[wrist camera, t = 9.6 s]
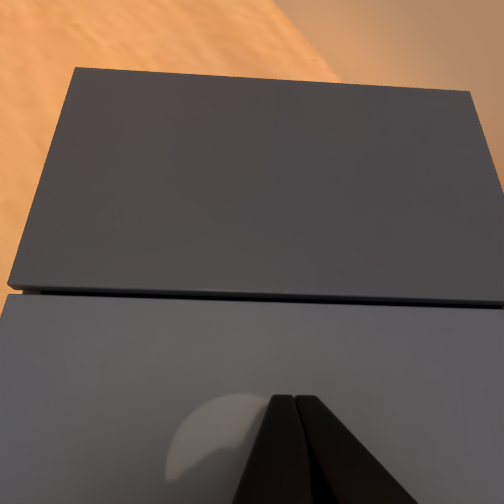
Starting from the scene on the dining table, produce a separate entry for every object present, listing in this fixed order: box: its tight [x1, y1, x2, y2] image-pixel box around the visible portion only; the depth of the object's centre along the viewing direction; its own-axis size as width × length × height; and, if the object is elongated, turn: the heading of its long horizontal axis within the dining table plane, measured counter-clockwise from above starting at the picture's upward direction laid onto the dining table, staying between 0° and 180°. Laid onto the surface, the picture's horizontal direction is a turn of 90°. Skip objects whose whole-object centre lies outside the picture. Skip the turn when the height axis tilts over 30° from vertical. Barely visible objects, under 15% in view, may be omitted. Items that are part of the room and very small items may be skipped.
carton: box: [7, 67, 504, 310], centre depth 13 cm, size 15×13×8 cm
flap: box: [0, 294, 504, 504], centre depth 8 cm, size 7×13×1 cm, turn 89°
